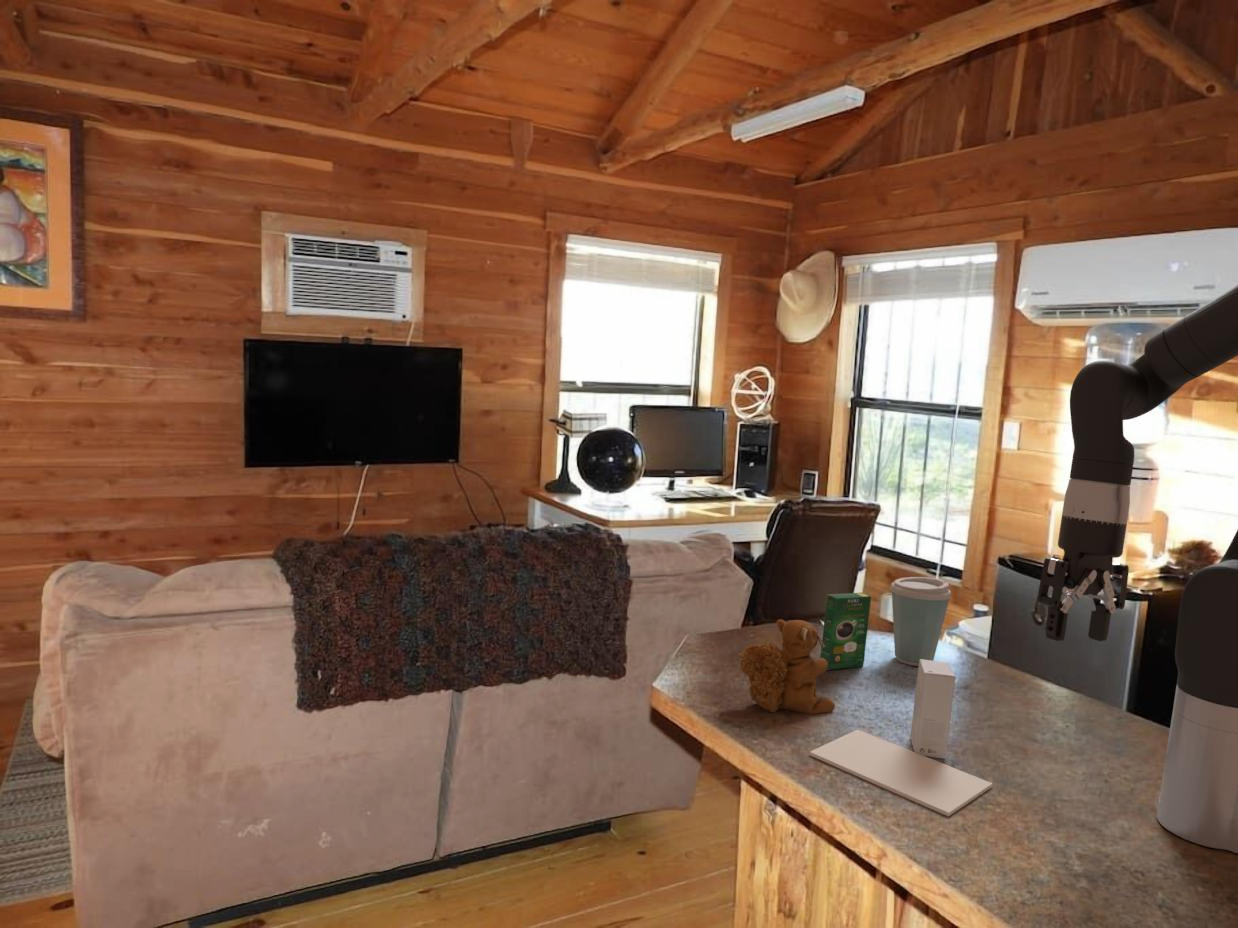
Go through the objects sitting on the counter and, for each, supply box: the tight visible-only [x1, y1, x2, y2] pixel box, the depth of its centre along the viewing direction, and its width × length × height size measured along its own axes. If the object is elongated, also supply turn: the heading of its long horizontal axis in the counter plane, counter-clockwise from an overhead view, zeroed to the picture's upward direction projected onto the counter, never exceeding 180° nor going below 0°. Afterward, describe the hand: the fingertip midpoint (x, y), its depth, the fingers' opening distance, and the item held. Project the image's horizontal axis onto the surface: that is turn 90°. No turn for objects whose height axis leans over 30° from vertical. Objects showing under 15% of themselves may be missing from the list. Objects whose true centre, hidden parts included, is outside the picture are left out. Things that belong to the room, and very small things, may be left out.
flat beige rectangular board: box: [809, 729, 993, 817], centre depth 119 cm, size 20×12×1 cm, turn 44°
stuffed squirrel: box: [737, 619, 836, 715], centre depth 139 cm, size 10×14×13 cm
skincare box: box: [909, 659, 956, 759], centre depth 126 cm, size 6×4×12 cm
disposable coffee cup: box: [890, 576, 952, 667], centre depth 163 cm, size 11×11×15 cm
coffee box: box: [819, 592, 872, 671], centre depth 157 cm, size 8×3×13 cm, turn 115°
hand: (1076, 639), depth 117 cm, fingers open, 8 cm apart
